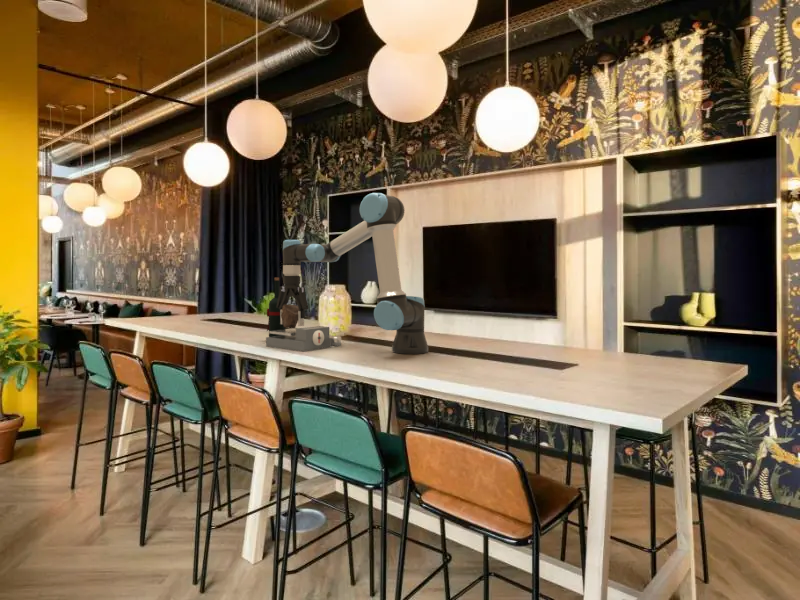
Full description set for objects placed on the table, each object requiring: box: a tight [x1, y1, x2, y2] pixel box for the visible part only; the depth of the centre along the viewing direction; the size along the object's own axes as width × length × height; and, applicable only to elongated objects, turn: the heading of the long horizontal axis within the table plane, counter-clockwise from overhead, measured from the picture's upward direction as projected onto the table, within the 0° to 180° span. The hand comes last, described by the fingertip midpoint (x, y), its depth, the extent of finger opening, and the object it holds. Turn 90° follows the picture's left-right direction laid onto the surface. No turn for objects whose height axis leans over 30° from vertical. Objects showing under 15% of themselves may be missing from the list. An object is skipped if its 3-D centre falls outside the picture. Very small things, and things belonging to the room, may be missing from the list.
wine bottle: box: [266, 277, 286, 337], centre depth 253 cm, size 8×10×30 cm
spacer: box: [330, 335, 342, 347], centre depth 242 cm, size 5×5×4 cm
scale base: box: [265, 325, 332, 352], centre depth 237 cm, size 25×16×9 cm, turn 53°
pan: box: [268, 327, 297, 336], centre depth 240 cm, size 14×14×2 cm
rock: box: [281, 303, 299, 329], centre depth 239 cm, size 12×10×10 cm
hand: (292, 324), depth 239 cm, fingers closed on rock, 11 cm apart
